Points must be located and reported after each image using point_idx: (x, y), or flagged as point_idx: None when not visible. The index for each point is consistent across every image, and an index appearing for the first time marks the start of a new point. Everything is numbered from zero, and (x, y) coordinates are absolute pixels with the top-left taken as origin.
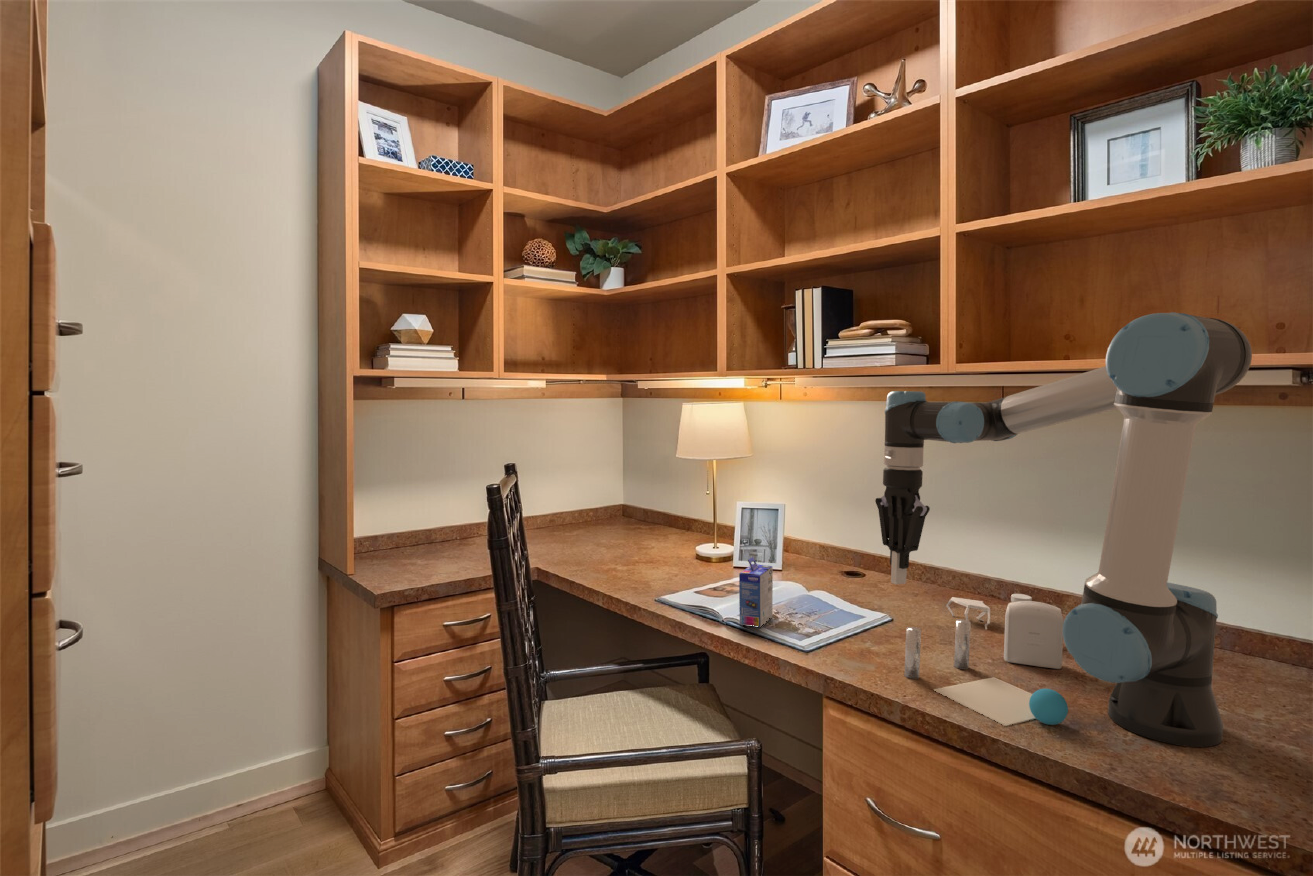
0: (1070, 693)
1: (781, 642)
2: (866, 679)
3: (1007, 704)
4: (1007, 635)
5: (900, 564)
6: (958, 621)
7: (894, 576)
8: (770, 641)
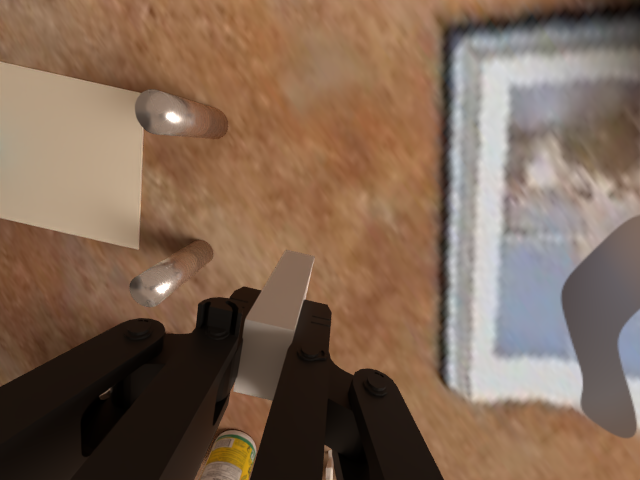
0: (48, 288)
1: (539, 27)
2: (251, 15)
3: (43, 150)
4: None
5: (254, 299)
6: (150, 280)
7: (289, 262)
8: (568, 3)
